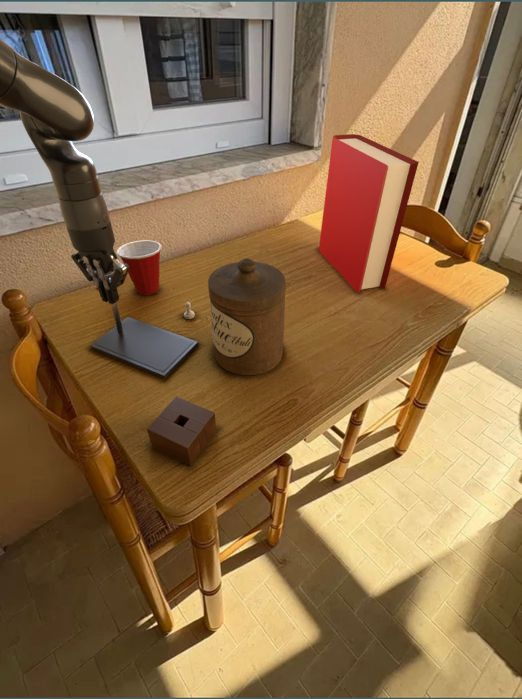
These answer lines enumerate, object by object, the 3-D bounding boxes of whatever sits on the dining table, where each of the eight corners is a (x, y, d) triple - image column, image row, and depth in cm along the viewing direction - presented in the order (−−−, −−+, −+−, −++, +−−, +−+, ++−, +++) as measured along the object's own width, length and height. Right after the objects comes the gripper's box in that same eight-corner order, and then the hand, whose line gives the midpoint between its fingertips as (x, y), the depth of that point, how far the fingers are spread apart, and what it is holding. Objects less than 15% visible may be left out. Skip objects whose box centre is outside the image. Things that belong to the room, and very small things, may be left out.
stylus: (121, 336, 85) (108, 279, 76) (116, 334, 85) (103, 278, 76) (124, 333, 85) (112, 277, 77) (120, 332, 86) (108, 275, 77)
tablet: (164, 379, 76) (164, 375, 76) (90, 348, 83) (89, 345, 82) (198, 344, 84) (198, 341, 84) (128, 319, 91) (127, 316, 90)
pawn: (187, 320, 91) (185, 306, 88) (182, 315, 93) (180, 301, 90) (196, 316, 92) (195, 303, 90) (191, 311, 94) (190, 298, 91)
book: (384, 289, 103) (418, 161, 82) (358, 293, 101) (386, 164, 80) (339, 245, 123) (357, 133, 102) (316, 248, 121) (330, 135, 100)
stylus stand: (190, 466, 62) (187, 448, 58) (151, 447, 64) (146, 428, 61) (216, 430, 67) (214, 412, 64) (179, 414, 69) (176, 396, 66)
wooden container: (201, 346, 84) (191, 255, 69) (256, 323, 91) (257, 235, 76) (238, 386, 75) (235, 291, 60) (296, 357, 82) (305, 266, 67)
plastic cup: (159, 274, 107) (152, 234, 99) (174, 292, 100) (167, 250, 92) (121, 284, 103) (110, 243, 95) (134, 304, 96) (123, 261, 88)
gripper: (43, 219, 68) (73, 301, 79) (100, 235, 63) (123, 319, 75) (76, 206, 73) (100, 284, 84) (131, 220, 68) (148, 300, 80)
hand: (111, 300), depth 79 cm, fingers closed on stylus, 1 cm apart
